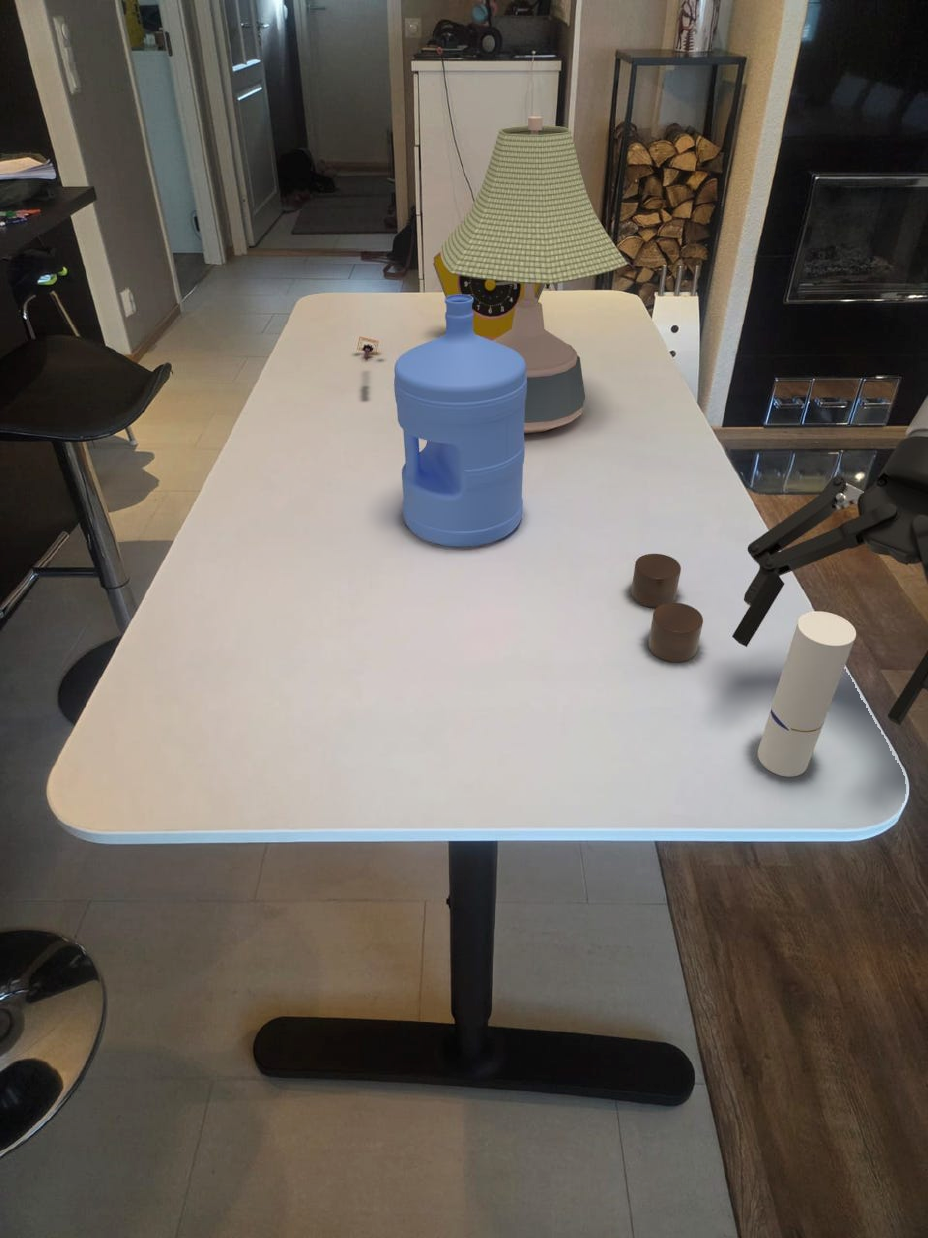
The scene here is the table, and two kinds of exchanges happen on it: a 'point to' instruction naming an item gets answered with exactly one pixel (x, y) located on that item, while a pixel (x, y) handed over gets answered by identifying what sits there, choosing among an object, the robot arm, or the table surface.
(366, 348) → the framed picture
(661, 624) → the disc
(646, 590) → the brown short cylinder
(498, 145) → the desk lamp
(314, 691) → the table surface
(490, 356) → the water jug
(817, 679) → the tube
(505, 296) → the yellow clock
